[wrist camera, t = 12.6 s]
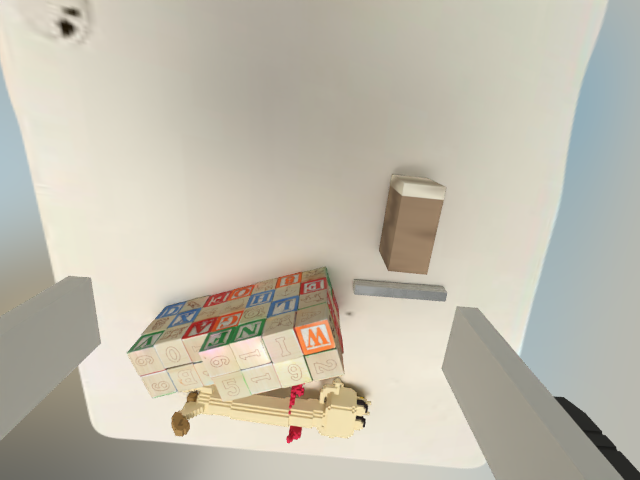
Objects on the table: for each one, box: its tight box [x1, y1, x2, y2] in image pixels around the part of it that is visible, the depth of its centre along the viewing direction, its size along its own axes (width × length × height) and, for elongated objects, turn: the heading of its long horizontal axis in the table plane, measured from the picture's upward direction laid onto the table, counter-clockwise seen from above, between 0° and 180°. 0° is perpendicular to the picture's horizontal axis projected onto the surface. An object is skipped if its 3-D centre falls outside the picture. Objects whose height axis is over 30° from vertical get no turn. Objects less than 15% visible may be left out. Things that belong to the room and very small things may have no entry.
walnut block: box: [379, 174, 446, 275], centre depth 35 cm, size 6×4×9 cm
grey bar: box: [353, 279, 447, 301], centre depth 40 cm, size 1×11×2 cm, turn 85°
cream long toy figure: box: [171, 378, 371, 443], centre depth 43 cm, size 10×9×25 cm
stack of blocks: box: [127, 267, 344, 402], centre depth 37 cm, size 21×6×12 cm, turn 105°
